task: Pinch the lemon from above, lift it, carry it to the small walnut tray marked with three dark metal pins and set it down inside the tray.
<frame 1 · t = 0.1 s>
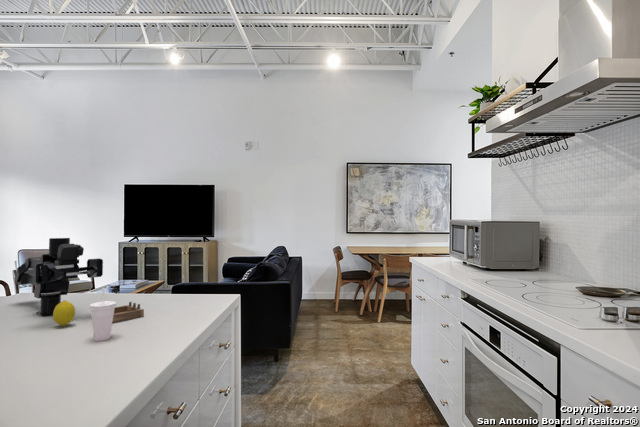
hand: (80, 272, 110), 17 cm above the countertop, tool horizontal, fingers open, 9 cm apart
tray: (119, 317, 119), on the countertop
lemon: (63, 327, 109), on the countertop
smoothie: (102, 339, 97), on the countertop
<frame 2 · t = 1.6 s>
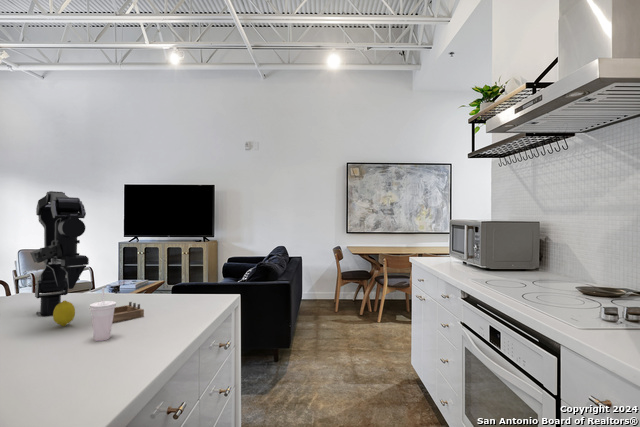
hand: (65, 287, 109), 12 cm above the countertop, tool pointing down, fingers open, 9 cm apart
nothing on the countertop moved.
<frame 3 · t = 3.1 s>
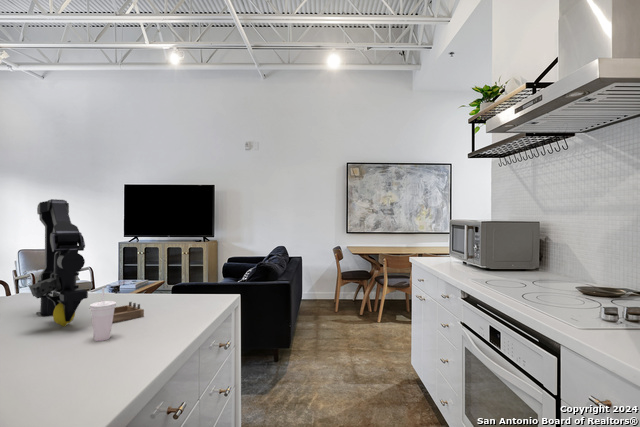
hand: (64, 319, 109), 2 cm above the countertop, tool pointing down, fingers closed on lemon, 5 cm apart
lemon: (63, 327, 109), on the countertop, touching gripper
everything else where it was.
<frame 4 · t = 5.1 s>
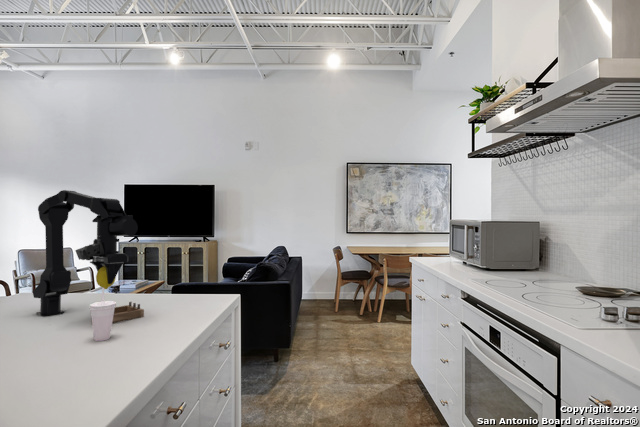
hand: (106, 283, 116), 12 cm above the countertop, tool pointing down, fingers closed on lemon, 5 cm apart
lemon: (105, 289, 116), point 10 cm above the countertop, touching gripper
everything else where it was.
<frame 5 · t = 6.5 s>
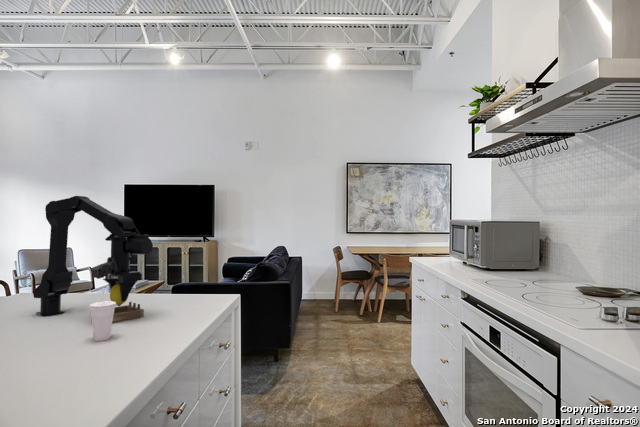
hand: (119, 300, 119), 6 cm above the countertop, tool pointing down, fingers closed on lemon, 5 cm apart
lemon: (119, 306, 119), point 4 cm above the countertop, touching gripper
everything else where it was.
when the fingers open (4 cm above the countertop, at t = 7.3 s): lemon drops 1 cm, resting on tray.
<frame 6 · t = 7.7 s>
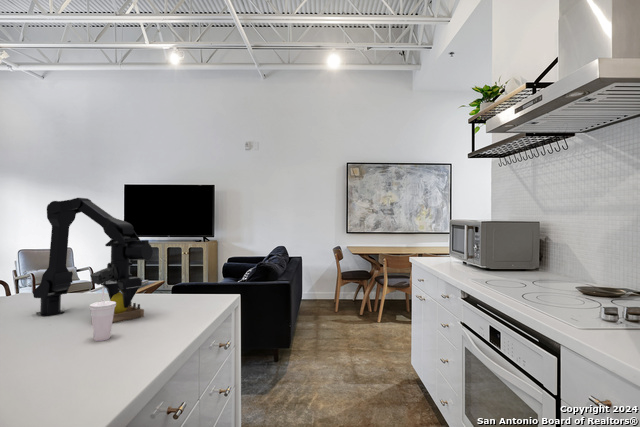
hand: (119, 305, 119), 4 cm above the countertop, tool pointing down, fingers open, 9 cm apart
lemon: (118, 316, 119), resting on tray
everything else where it was.
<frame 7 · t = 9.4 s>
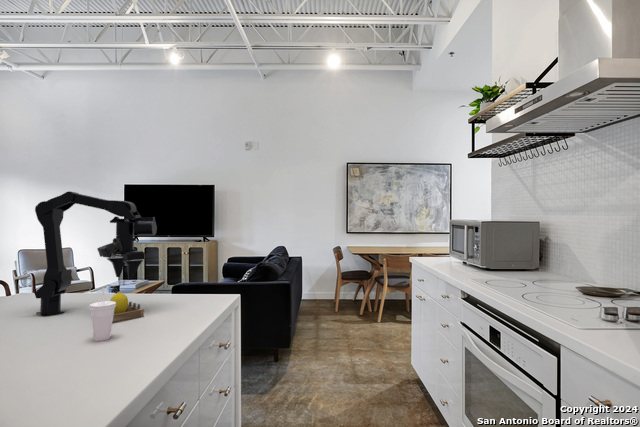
hand: (124, 278, 128), 12 cm above the countertop, tool pointing down, fingers open, 9 cm apart
nothing on the countertop moved.
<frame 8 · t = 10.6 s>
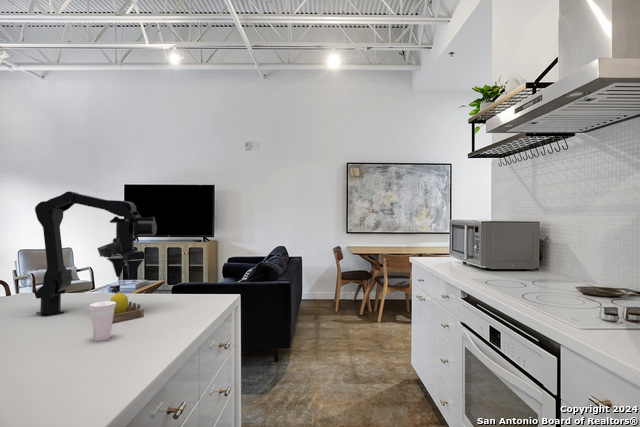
hand: (124, 278, 128), 12 cm above the countertop, tool pointing down, fingers open, 9 cm apart
nothing on the countertop moved.
at the end: lemon inside the target area on the tray (0.2 cm from its centre), point 0.4 cm above the tray's base; the gripper is holding nothing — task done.
